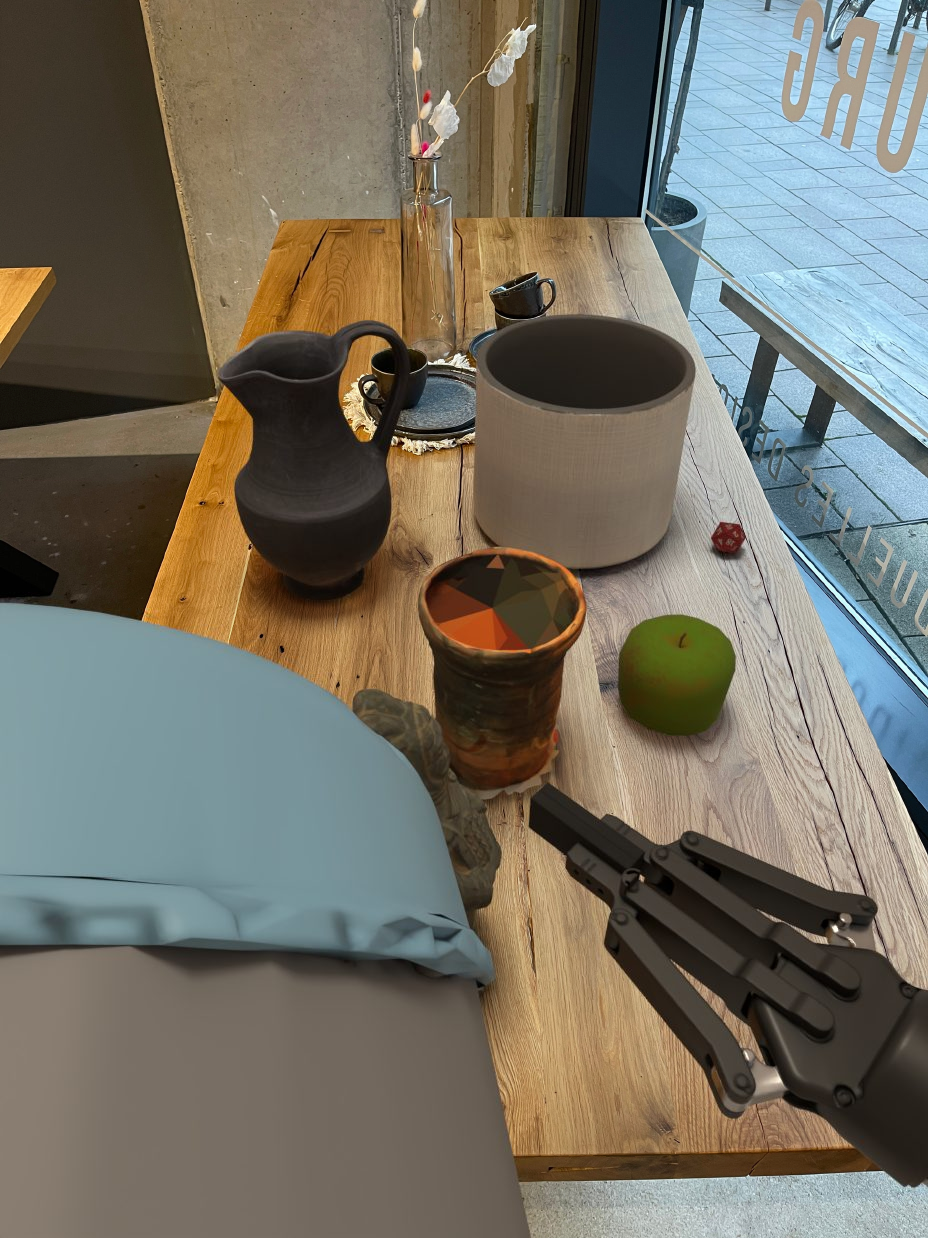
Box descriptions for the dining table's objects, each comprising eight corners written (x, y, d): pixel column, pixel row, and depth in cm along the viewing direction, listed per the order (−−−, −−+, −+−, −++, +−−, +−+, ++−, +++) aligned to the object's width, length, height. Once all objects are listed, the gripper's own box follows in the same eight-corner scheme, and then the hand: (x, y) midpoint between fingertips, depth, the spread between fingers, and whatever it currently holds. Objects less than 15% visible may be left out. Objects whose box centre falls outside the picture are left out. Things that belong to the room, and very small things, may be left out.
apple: (710, 671, 98) (730, 594, 91) (731, 749, 90) (755, 671, 83) (607, 670, 98) (618, 593, 91) (618, 748, 90) (632, 670, 83)
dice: (703, 541, 115) (709, 515, 112) (738, 540, 115) (745, 514, 113) (711, 560, 112) (717, 534, 110) (747, 559, 113) (754, 533, 110)
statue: (501, 1024, 70) (515, 779, 50) (378, 1027, 70) (343, 782, 50) (494, 894, 78) (504, 638, 58) (385, 896, 78) (357, 640, 58)
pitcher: (234, 556, 113) (185, 323, 93) (388, 511, 120) (374, 286, 100) (280, 641, 101) (235, 397, 81) (447, 586, 109) (444, 349, 89)
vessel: (581, 802, 85) (603, 647, 72) (429, 814, 84) (422, 659, 71) (556, 691, 96) (571, 538, 83) (420, 700, 95) (413, 546, 82)
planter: (624, 453, 131) (644, 302, 116) (702, 559, 112) (738, 397, 98) (452, 478, 126) (450, 324, 111) (504, 593, 108) (511, 428, 93)
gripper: (867, 1277, 38) (457, 917, 50) (989, 1045, 45) (602, 779, 57) (928, 1223, 33) (455, 837, 45) (1055, 970, 40) (615, 696, 52)
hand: (538, 805), depth 51 cm, fingers closed
